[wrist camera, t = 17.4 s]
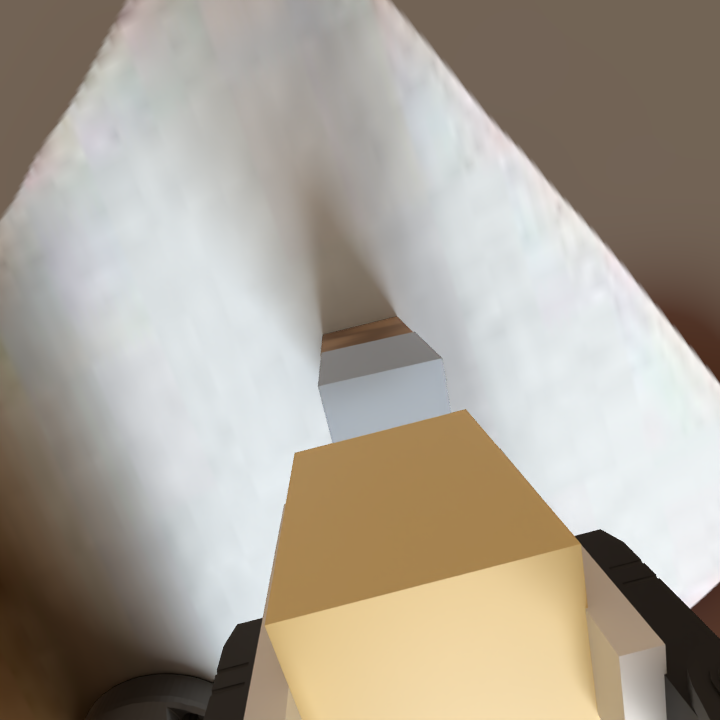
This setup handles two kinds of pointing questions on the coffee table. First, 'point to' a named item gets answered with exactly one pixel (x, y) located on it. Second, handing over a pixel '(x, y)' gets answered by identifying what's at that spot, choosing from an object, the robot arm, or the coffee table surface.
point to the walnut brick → (364, 334)
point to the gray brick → (381, 386)
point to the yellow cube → (427, 584)
